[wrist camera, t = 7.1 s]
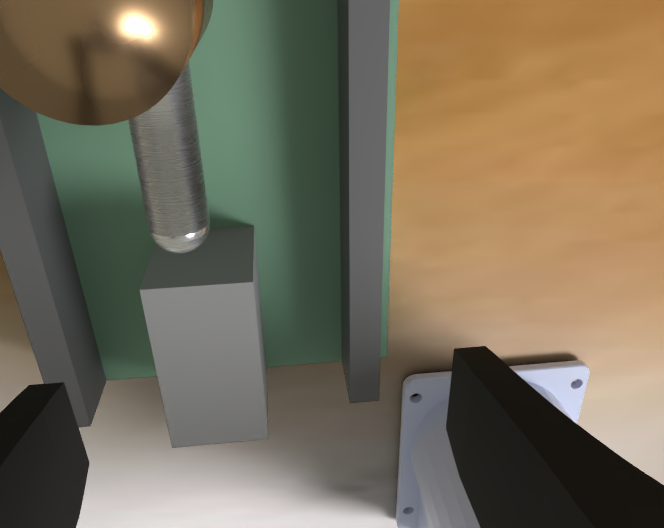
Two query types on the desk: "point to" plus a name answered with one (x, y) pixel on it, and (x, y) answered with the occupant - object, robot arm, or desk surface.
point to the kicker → (120, 90)
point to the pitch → (219, 224)
